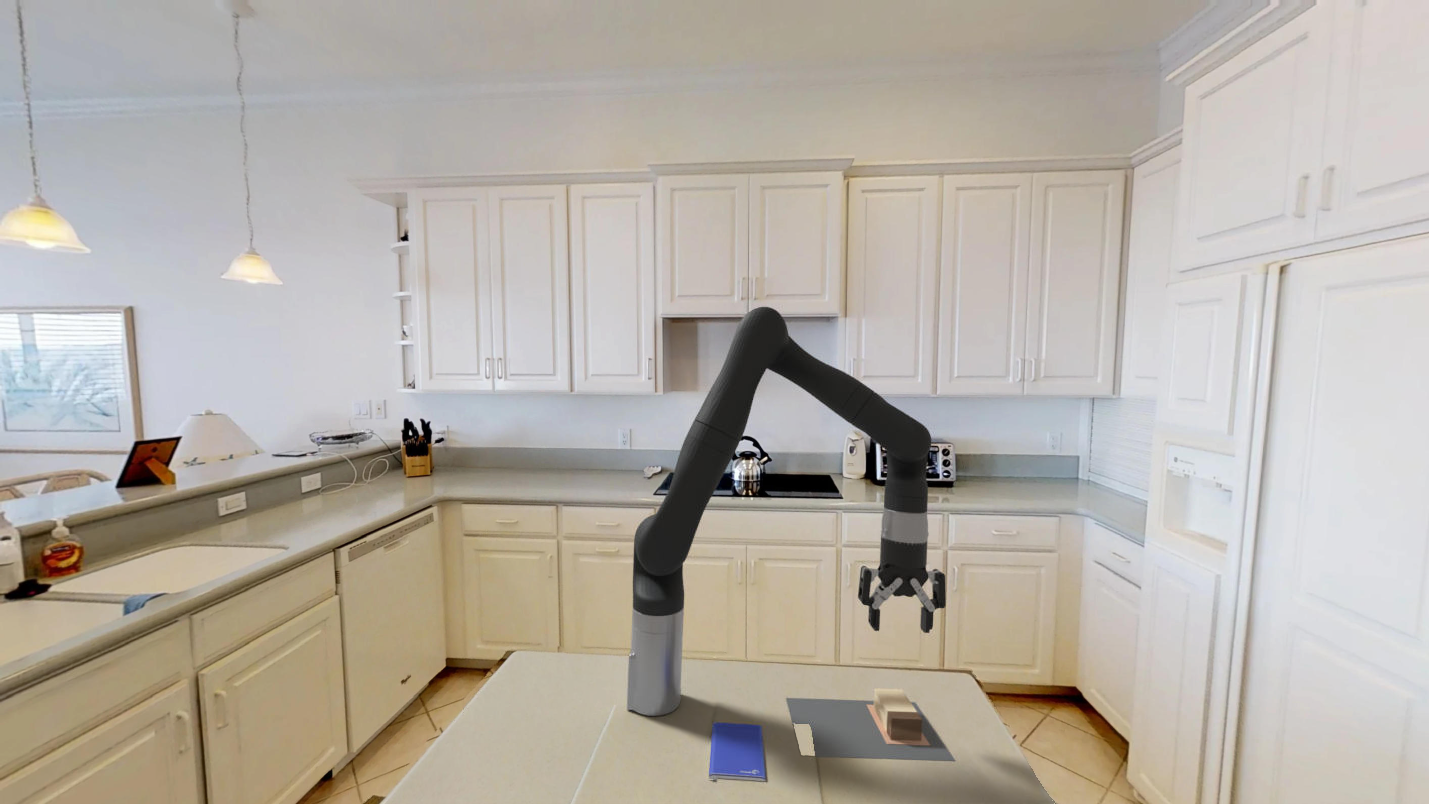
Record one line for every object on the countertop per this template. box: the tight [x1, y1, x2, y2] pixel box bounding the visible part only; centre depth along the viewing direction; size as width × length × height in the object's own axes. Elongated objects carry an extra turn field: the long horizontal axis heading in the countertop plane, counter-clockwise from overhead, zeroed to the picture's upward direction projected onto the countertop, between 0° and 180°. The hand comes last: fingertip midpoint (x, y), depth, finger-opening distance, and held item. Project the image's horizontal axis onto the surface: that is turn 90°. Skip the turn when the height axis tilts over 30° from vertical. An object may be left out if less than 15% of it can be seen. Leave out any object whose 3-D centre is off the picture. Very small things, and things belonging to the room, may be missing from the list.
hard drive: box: [708, 721, 766, 782], centre depth 82 cm, size 2×8×12 cm
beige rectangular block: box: [873, 688, 922, 741], centre depth 90 cm, size 9×5×4 cm, turn 0°
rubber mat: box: [785, 697, 956, 762], centre depth 89 cm, size 24×16×1 cm, turn 90°
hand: (899, 630), depth 90 cm, fingers open, 8 cm apart
